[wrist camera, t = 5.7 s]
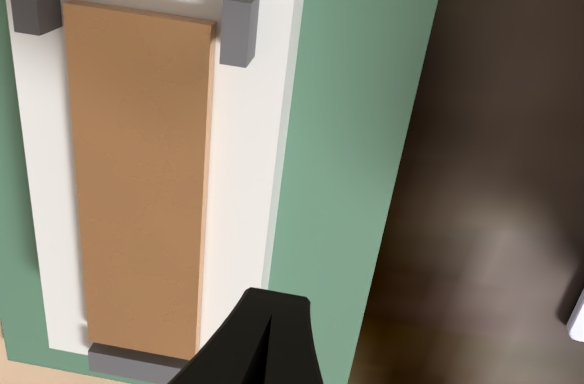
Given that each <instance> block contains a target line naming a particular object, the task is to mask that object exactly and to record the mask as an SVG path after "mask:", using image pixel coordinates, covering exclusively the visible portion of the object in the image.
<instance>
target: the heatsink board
mask: <svg viewBox="0 0 584 384" xmlns="http://www.w3.org/2000/svg"><path fill="white" fill-rule="evenodd" d="M67 1H70V0H0V318H1V324H2V330H3V335H4V341H5V346H6V352H7V358H8V360H10V361H16V362H21V363H26V364H31V365H37V366H42V367H47V368H52V369H58V370H63V371H68V372H73V373H78V374H84V375H89V376H94V377H99V378H105V379H110V380H115V381H120V382H126V383H131V384H167V383H168V382H169V381H170V380H171V379H172V378H173V377H174V376H175V375H176V374H177V373H178V372H179V371H180V370H181V369H182V368H183V367H184V366H185V365H186V364H187V363H188V362H189V361H190V360H186V359H181V358H175V357H170V356H165V355H159V354H154V353H149V352H143V351H138V350H133V349H127V348H122V347H117V346H111V345H106V344H101V343H95V342H90V341H88V328H87V315H86V302H85V289H84V276H83V263H82V250H81V237H80V224H79V211H78V198H77V185H76V172H75V159H74V146H73V133H72V120H71V107H70V94H69V81H68V68H67V55H66V42H65V29H64V16H63V3H64V2H67ZM81 1H88V2H94V3H101V4H108V5H114V6H121V7H127V8H134V9H141V10H147V11H154V12H160V13H167V14H174V15H180V16H187V17H193V18H200V19H207V20H213V21H217V26H216V45H215V64H214V83H213V102H212V121H211V140H210V159H209V178H208V197H207V216H206V234H205V253H204V272H203V291H202V310H201V329H200V348H199V350H200V349H201V348H202V347H203V346H204V345H205V343H206V342H207V341H208V340H209V339H210V338H211V336H212V335H213V334H214V333H215V332H216V330H217V329H218V328H219V327H220V326H221V324H222V323H223V322H224V320H225V319H226V318H227V317H228V315H229V314H230V313H231V311H232V310H233V308H234V307H235V306H236V304H237V303H238V301H239V300H240V298H241V297H242V295H243V293H244V291H245V290H246V289H248V288H250V287H254V288H260V289H265V290H271V291H277V292H282V293H288V294H293V295H299V296H305V297H307V298H308V299H309V301H310V302H311V304H310V317H311V327H312V334H313V340H314V346H315V351H316V355H317V359H318V363H319V367H320V372H321V376H322V379H323V383H324V384H347V383H348V378H349V374H350V370H351V366H352V361H353V357H354V353H355V349H356V345H357V340H358V336H359V332H360V328H361V323H362V319H363V315H364V311H365V307H366V302H367V298H368V294H369V290H370V285H371V281H372V277H373V273H374V269H375V264H376V260H377V256H378V252H379V247H380V243H381V239H382V235H383V231H384V226H385V222H386V218H387V214H388V209H389V205H390V201H391V197H392V193H393V188H394V184H395V180H396V176H397V171H398V167H399V163H400V159H401V155H402V150H403V146H404V142H405V138H406V133H407V129H408V125H409V121H410V117H411V112H412V108H413V104H414V100H415V95H416V91H417V87H418V83H419V79H420V74H421V70H422V66H423V62H424V57H425V53H426V49H427V45H428V41H429V36H430V32H431V28H432V24H433V19H434V15H435V11H436V7H437V3H438V0H81Z"/></svg>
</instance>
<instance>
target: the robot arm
mask: <svg viewBox="0 0 584 384" xmlns="http://www.w3.org/2000/svg"><path fill="white" fill-rule="evenodd" d="M310 304H311V302H310V301H309V299H308V298H307V297H305V296H299V295H293V294H288V293H282V292H277V291H271V290H265V289H260V288H254V287H250V288H248V289H246V290H245V291H244V293H243V295H242V297H241V298H240V300H239V301H238V303H237V304H236V306H235V307H234V308H233V310H232V311H231V313H230V314H229V315H228V317H227V318H226V319H225V320H224V322H223V323H222V324H221V326H220V327H219V328H218V329H217V330H216V332H215V333H214V334H213V335H212V336H211V338H210V339H209V340H208V341H207V342H206V343H205V345H204V346H203V347H202V348H201V349H200V350H199V351H198V353H197V354H196V355H195V356H194V357H193V358H192V359H191V360H190V361H189V362H188V363H187V364H186V365H185V366H184V367H183V368H182V369H181V370H180V371H179V372H178V373H177V374H176V375H175V376H174V377H173V378H172V379H171V380H170V381H169V382H168V383H167V384H324V383H323V379H322V376H321V372H320V367H319V363H318V359H317V355H316V351H315V346H314V340H313V334H312V327H311V317H310ZM566 329H567V331H568V334H569V336H570V337H571V338H572V339H574V340H577V341H582V342H584V289H583V291H582V293H581V295H580V297H579V299H578V302H577V304H576V306H575V308H574V310H573V312H572V314H571V316H570V318H569V321H568V323H567V326H566Z"/></svg>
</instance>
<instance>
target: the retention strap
mask: <svg viewBox="0 0 584 384" xmlns="http://www.w3.org/2000/svg"><path fill="white" fill-rule="evenodd" d="M63 16H64V29H65V42H66V55H67V68H68V81H69V94H70V107H71V120H72V133H73V146H74V159H75V172H76V185H77V198H78V211H79V224H80V237H81V250H82V263H83V276H84V289H85V302H86V315H87V328H88V341H90V342H95V343H101V344H106V345H111V346H117V347H122V348H127V349H133V350H138V351H143V352H149V353H154V354H159V355H165V356H170V357H175V358H181V359H186V360H191V359H192V358H193V357H194V356H195V355H196V354H197V353H198V351H199V348H200V329H201V310H202V291H203V272H204V253H205V234H206V216H207V197H208V178H209V159H210V140H211V121H212V102H213V83H214V64H215V45H216V26H217V21H213V20H207V19H200V18H193V17H187V16H180V15H174V14H167V13H160V12H154V11H147V10H141V9H134V8H127V7H121V6H114V5H108V4H101V3H94V2H88V1H81V0H70V1H67V2H64V3H63Z"/></svg>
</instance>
